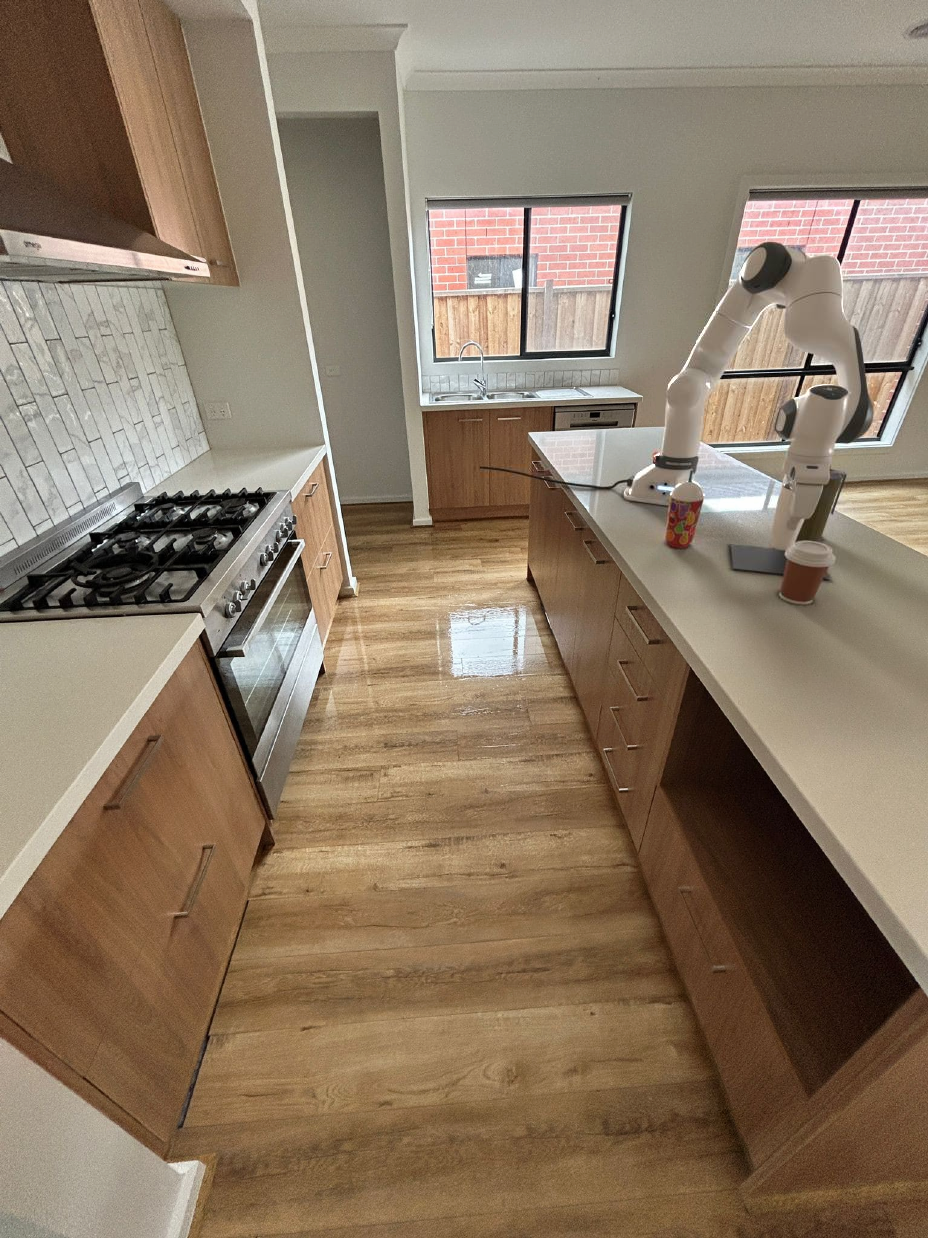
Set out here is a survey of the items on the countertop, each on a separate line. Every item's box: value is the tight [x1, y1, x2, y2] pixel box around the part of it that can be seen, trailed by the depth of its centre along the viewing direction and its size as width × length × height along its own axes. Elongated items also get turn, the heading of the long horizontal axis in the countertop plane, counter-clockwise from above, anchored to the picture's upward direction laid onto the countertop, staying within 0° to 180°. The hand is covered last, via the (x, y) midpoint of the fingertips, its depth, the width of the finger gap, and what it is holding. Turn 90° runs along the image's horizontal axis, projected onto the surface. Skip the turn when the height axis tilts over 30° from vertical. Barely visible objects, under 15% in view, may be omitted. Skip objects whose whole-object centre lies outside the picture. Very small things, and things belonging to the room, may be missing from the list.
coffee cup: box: [778, 541, 837, 605], centre depth 109 cm, size 9×9×12 cm
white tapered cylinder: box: [768, 483, 805, 551], centre depth 121 cm, size 7×7×15 cm
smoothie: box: [664, 470, 706, 549], centre depth 133 cm, size 8×8×20 cm
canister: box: [795, 464, 848, 543], centre depth 134 cm, size 11×10×20 cm
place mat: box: [729, 543, 830, 581], centre depth 127 cm, size 20×15×1 cm
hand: (788, 523), depth 122 cm, fingers closed on white tapered cylinder, 6 cm apart
